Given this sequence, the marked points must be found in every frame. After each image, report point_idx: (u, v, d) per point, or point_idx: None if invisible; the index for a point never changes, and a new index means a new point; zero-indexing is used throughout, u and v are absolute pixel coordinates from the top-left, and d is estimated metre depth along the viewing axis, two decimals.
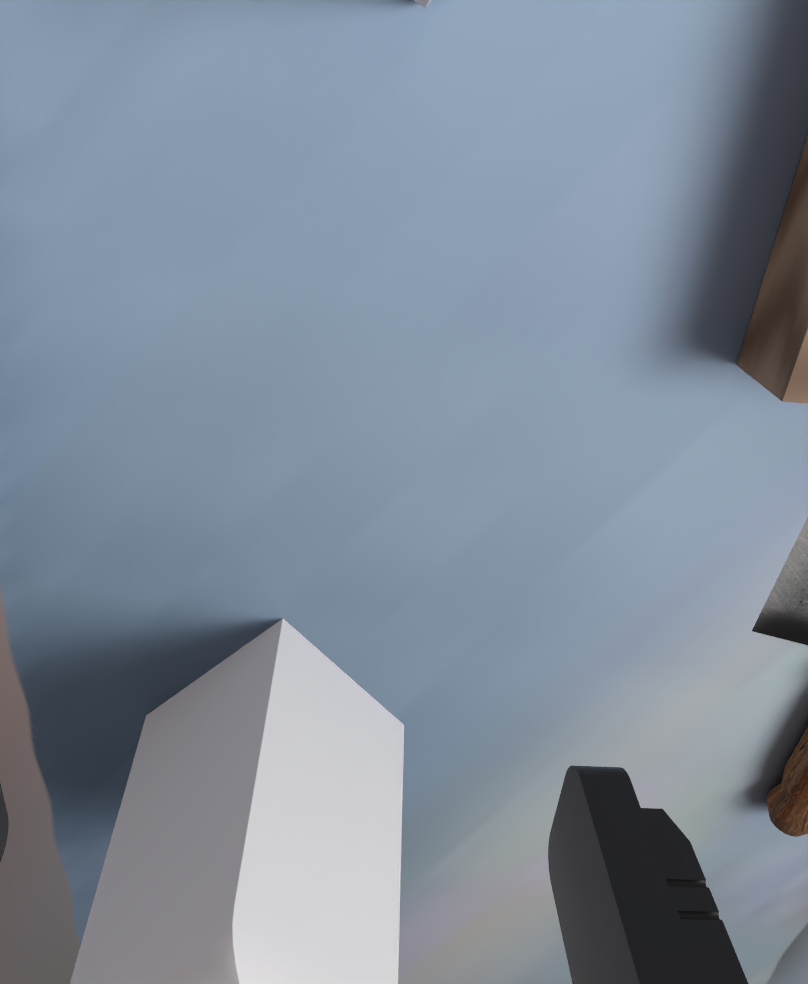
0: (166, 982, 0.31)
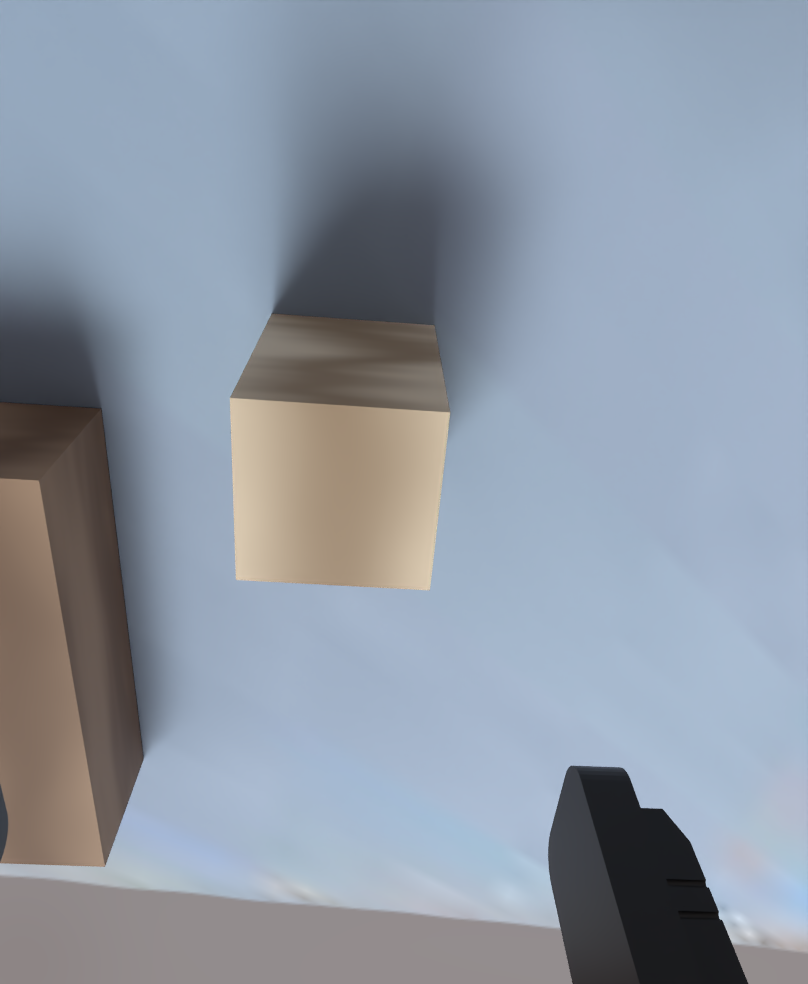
0: None
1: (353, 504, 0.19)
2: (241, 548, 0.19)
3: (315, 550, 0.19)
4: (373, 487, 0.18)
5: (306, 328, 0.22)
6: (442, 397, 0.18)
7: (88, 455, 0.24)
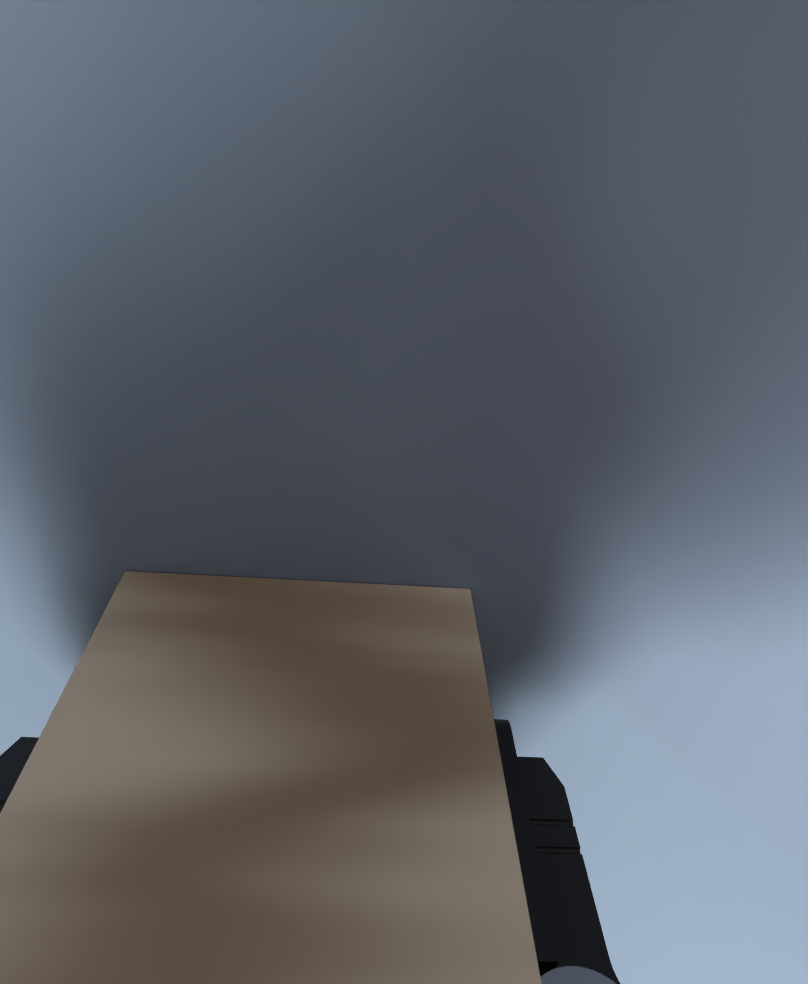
0: None
1: None
2: None
3: None
4: None
5: (188, 633, 0.10)
6: None
7: None
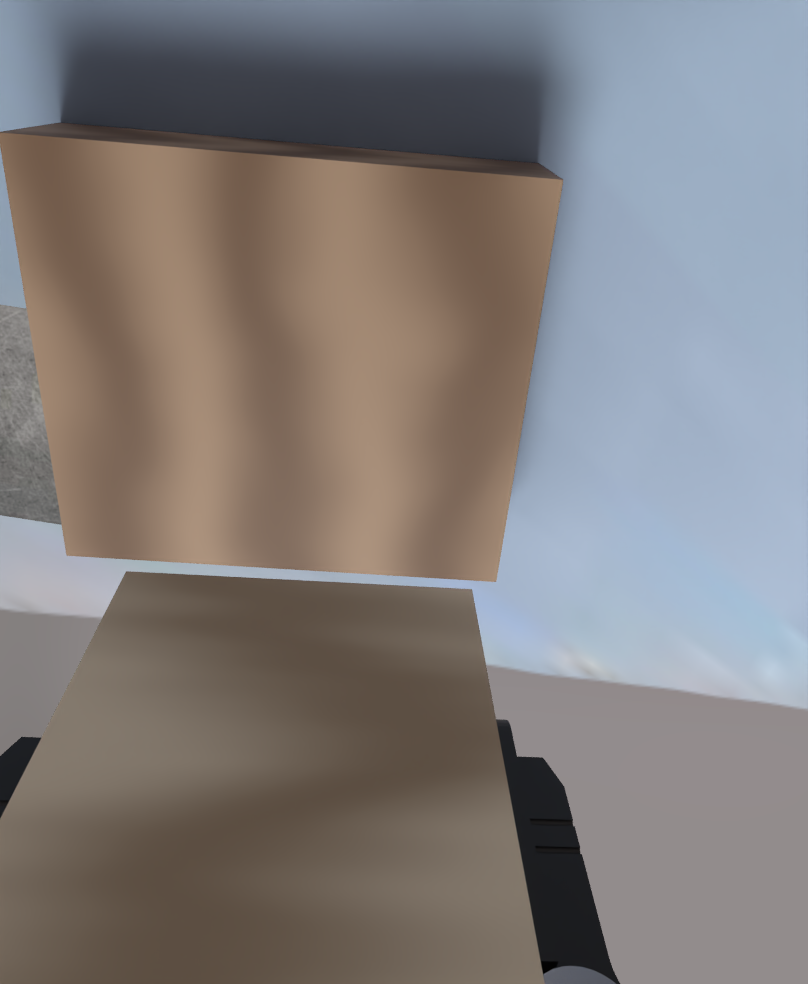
0: None
1: None
2: None
3: None
4: None
5: (189, 633, 0.10)
6: None
7: None
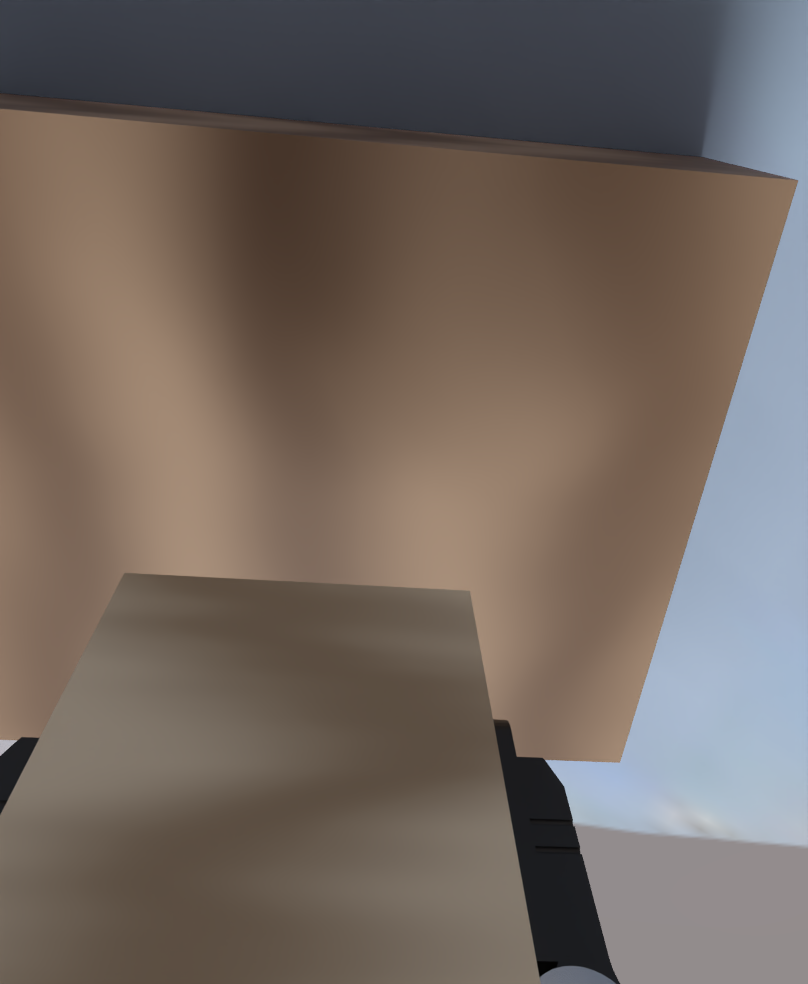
0: None
1: None
2: None
3: None
4: None
5: (187, 635, 0.10)
6: None
7: None
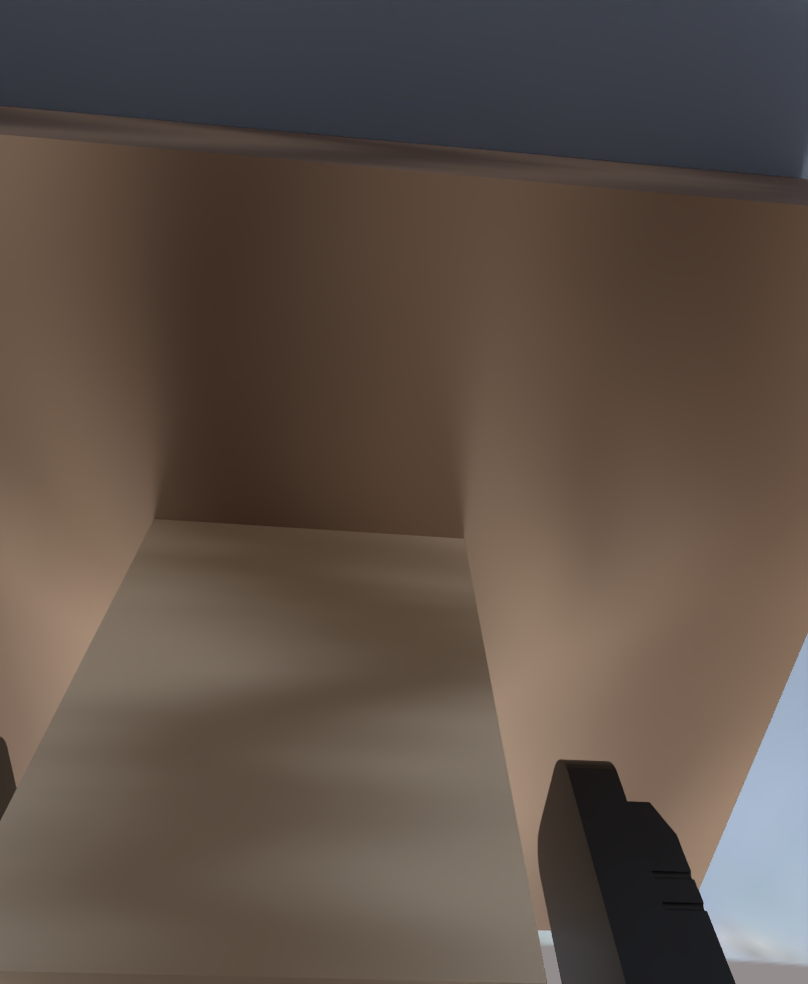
0: None
1: None
2: None
3: None
4: None
5: (212, 570, 0.11)
6: (515, 882, 0.07)
7: None
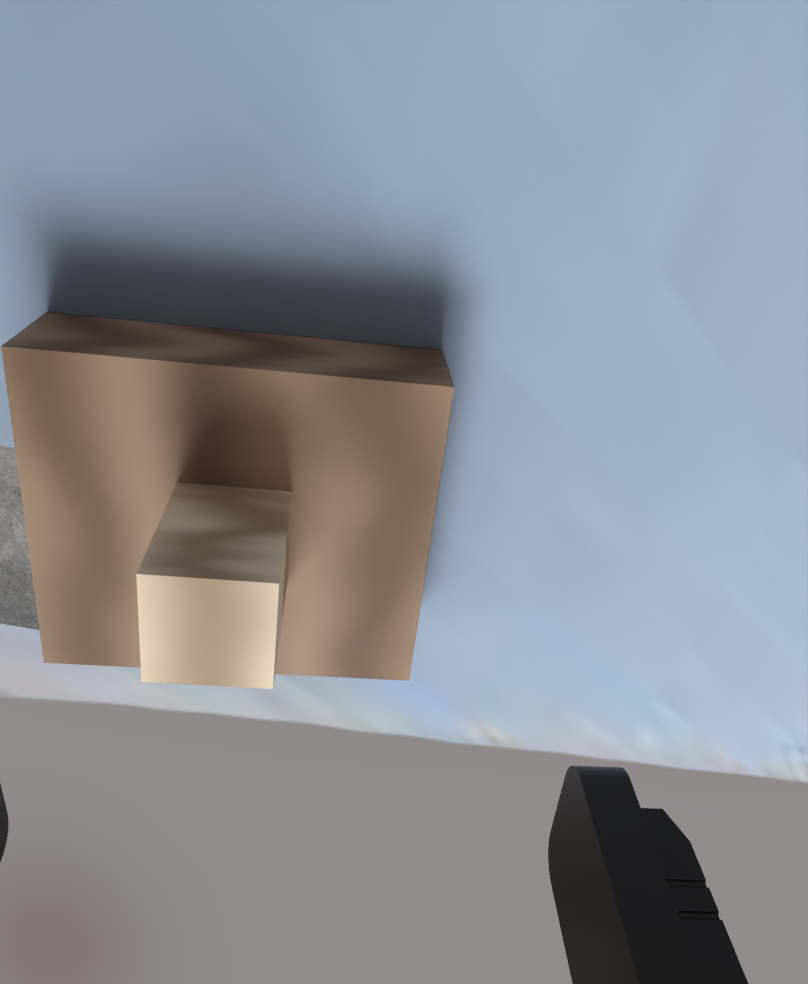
0: None
1: (219, 636, 0.28)
2: (144, 662, 0.29)
3: (194, 664, 0.29)
4: (232, 626, 0.28)
5: (199, 499, 0.32)
6: (277, 569, 0.28)
7: None
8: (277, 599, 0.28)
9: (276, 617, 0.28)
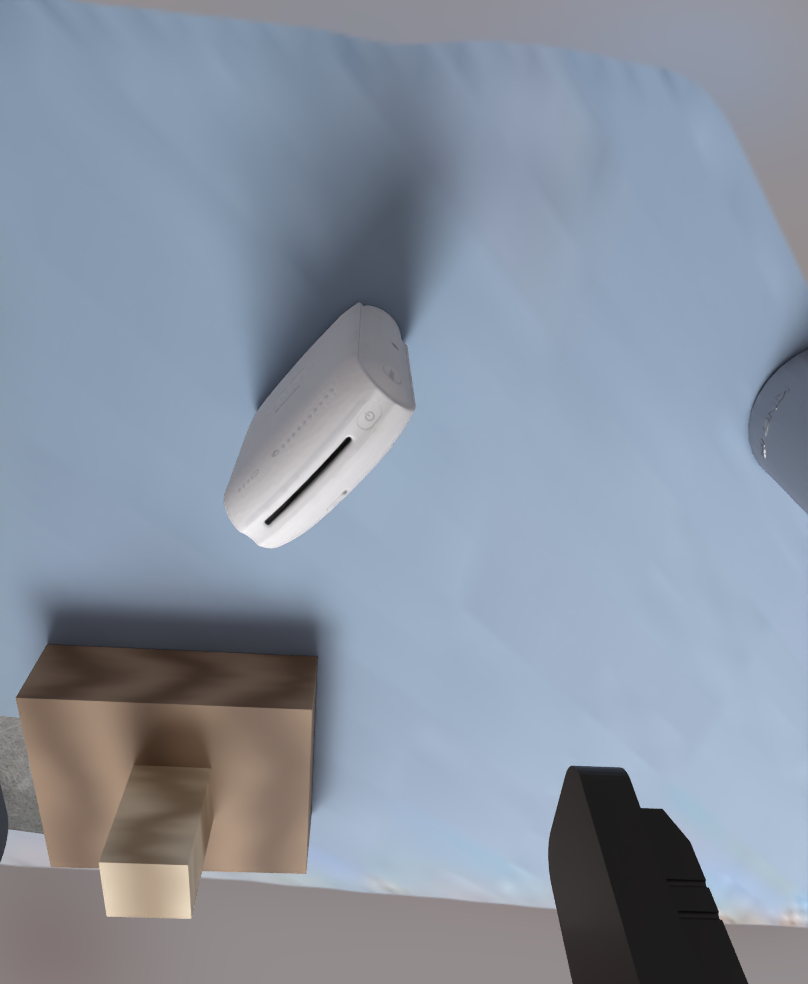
0: None
1: (153, 892, 0.45)
2: (108, 906, 0.45)
3: (139, 906, 0.45)
4: (161, 887, 0.45)
5: (146, 782, 0.48)
6: (189, 851, 0.45)
7: (315, 682, 0.51)
8: (188, 872, 0.44)
9: (188, 881, 0.45)
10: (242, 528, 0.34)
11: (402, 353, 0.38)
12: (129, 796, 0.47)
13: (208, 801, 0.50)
